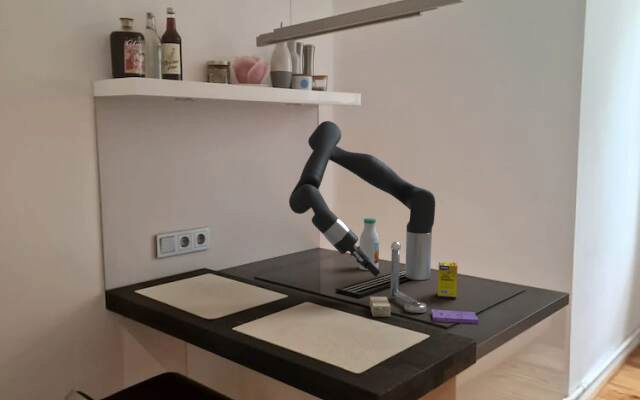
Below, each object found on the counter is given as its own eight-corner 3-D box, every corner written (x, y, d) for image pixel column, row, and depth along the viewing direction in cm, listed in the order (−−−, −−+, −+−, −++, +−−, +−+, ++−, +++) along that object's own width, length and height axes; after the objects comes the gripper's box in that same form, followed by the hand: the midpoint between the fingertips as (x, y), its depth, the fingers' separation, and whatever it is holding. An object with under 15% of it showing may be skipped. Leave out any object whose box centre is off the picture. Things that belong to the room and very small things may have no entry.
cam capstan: (430, 312, 164) (432, 251, 162) (411, 314, 162) (413, 252, 160) (400, 295, 181) (402, 240, 179) (383, 297, 179) (384, 241, 177)
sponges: (431, 315, 164) (431, 309, 164) (475, 317, 162) (475, 311, 162) (433, 323, 157) (433, 316, 157) (478, 325, 155) (479, 319, 155)
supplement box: (456, 299, 179) (457, 266, 178) (437, 298, 180) (438, 265, 179) (455, 294, 185) (457, 262, 184) (437, 293, 186) (438, 261, 185)
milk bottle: (369, 271, 215) (370, 220, 212) (354, 268, 220) (355, 218, 218) (382, 269, 220) (383, 218, 218) (368, 265, 225) (369, 216, 223)
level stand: (369, 306, 170) (369, 296, 170) (386, 306, 170) (386, 296, 170) (373, 317, 159) (373, 307, 159) (391, 318, 159) (391, 307, 159)
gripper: (331, 240, 183) (367, 277, 185) (332, 248, 170) (371, 287, 172) (347, 224, 183) (383, 261, 184) (350, 231, 170) (388, 271, 171)
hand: (377, 274), depth 178 cm, fingers closed
